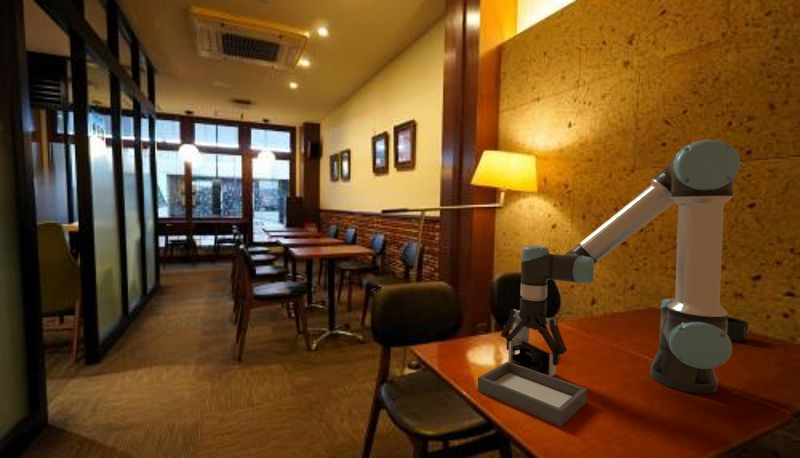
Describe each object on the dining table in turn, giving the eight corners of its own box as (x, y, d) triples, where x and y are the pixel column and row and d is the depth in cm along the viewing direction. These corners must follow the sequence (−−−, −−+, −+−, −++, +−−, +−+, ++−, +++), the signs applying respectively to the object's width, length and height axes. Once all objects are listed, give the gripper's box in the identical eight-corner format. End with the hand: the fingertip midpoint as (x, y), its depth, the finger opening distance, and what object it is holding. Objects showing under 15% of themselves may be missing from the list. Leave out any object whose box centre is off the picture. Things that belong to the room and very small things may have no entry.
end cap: (552, 373, 109) (553, 351, 109) (533, 377, 106) (534, 354, 106) (529, 360, 118) (529, 339, 118) (510, 363, 116) (511, 342, 115)
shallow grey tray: (586, 402, 93) (587, 388, 93) (560, 426, 82) (561, 411, 82) (507, 373, 109) (507, 361, 108) (477, 390, 98) (478, 377, 98)
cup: (528, 351, 125) (529, 316, 124) (508, 347, 129) (509, 313, 128) (533, 345, 131) (534, 311, 130) (514, 341, 135) (515, 308, 134)
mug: (750, 339, 138) (751, 321, 138) (744, 345, 133) (745, 325, 132) (709, 331, 148) (710, 313, 147) (702, 335, 142) (703, 317, 142)
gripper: (580, 303, 105) (577, 377, 106) (503, 288, 122) (501, 352, 124) (570, 308, 100) (566, 386, 101) (491, 292, 117) (489, 358, 119)
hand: (531, 367), depth 112 cm, fingers open, 12 cm apart
